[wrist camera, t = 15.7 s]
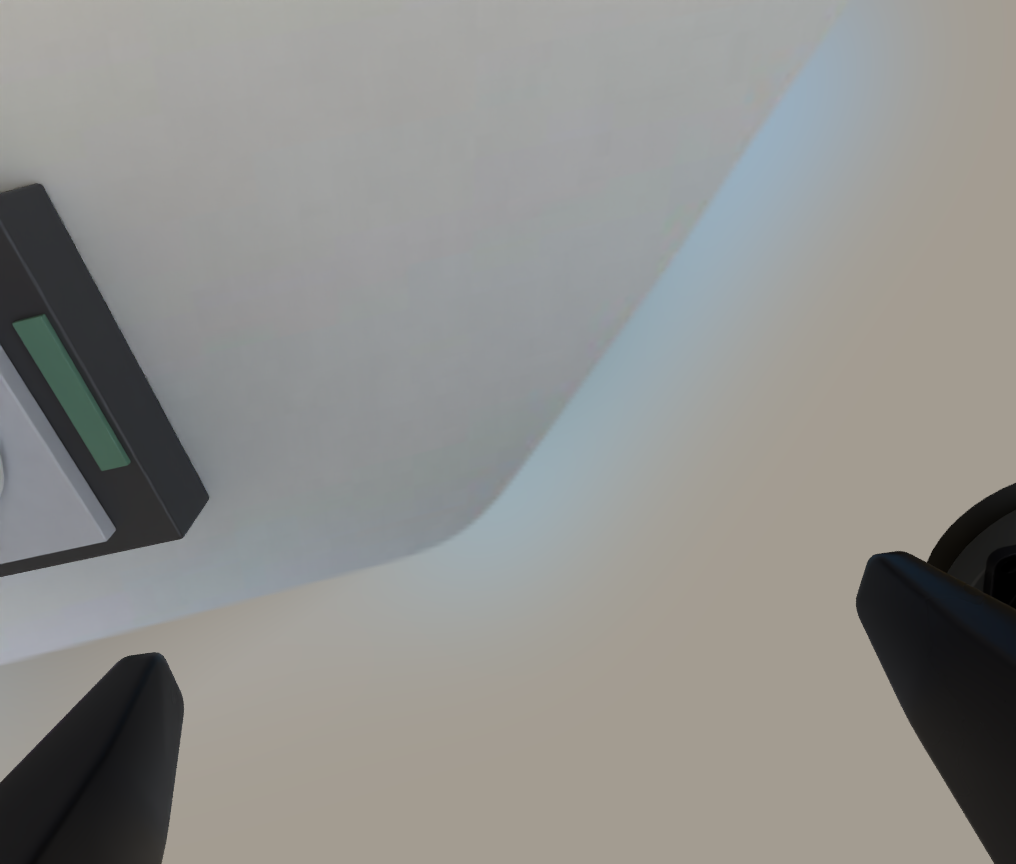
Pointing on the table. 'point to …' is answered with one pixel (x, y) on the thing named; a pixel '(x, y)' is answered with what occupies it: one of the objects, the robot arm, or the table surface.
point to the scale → (75, 410)
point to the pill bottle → (1, 477)
